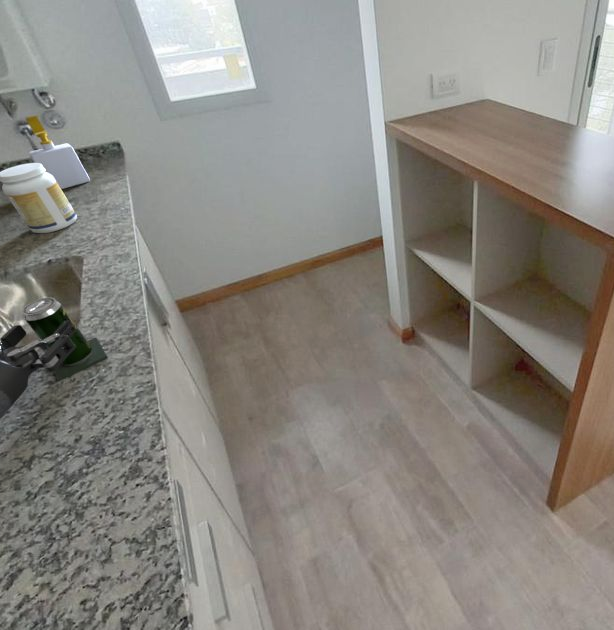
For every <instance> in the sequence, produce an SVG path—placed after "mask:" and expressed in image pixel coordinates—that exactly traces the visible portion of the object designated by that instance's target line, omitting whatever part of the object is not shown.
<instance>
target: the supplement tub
mask: <svg viewBox="0 0 614 630" xmlns="http://www.w3.org/2000/svg"><path fill="white" fill-rule="evenodd" d="M45 171H46V169H45V168H44V167H43V166H42V164H40V163H34V162H29V163H23V164H18V165H15V166H11V167H8V168H5V169H3V170H1V171H0V182H1V183H2V187H1V188H2V192H3V193H4V195H5V196H6V197H7V198H8V200H9V202H11V204H12V206H13V207H14V209H15V210H16V211H17V213H18V214H19V215H20V217H21V218H22V220H23V222H24V223H25V224H26V226H27V227H28V229H29V230H30V231H31V232H32V233H34V234H49V233H53V232H58V231H60V230H63V229H65V228H67V227H70V226H71V225H73V224H74V223H76V221H77V219H78V215H77V213H76V211H75V210H74V208H73V206H72V204H71V203H70V202H69V199H68V198H67V196H66V195H65V193H64V192H63V189H61V188H60V187H59V185H58V183H57V182H56V180H55V178H54V177H53V176H52V175H51V174H49V173H47V172H45Z"/></svg>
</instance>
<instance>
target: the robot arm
mask: <svg viewBox="0 0 614 630" xmlns="http://www.w3.org/2000/svg"><path fill="white" fill-rule="evenodd" d="M75 332H76V327H75V326H74V324H73V323H72V322H71V321H70V320H69V321H64V322H63V323H62V324H61V325H60V326H59V327H58V329H57V330H56V331H55V332H54V333H53V335H51V336H49V337H47V338H45V339H44V340H41V339H40V338H39V339H36V340H34V341H32V342H30V343H28V344H26V345H21V346H18V344H19V343H20V342H21V341H23V339H24V338H25V337H26V336H27V331H26V330H25V329H24V328H23V326H22V325H20V324H18V325H13V326H12V327H11V328H9V330H7V331H6V332H5V333H4V334H3V335H2V336H1V337H0V420H1V419H2V418H3V417H4V415H6V413H7V412H8V411H9V410H10V409H11V408H12V406H13V405H14V404H15V403H16V402H17V401H18V399H19V398H20V397H21V396H22V395H23V393H24V392H25V391H26V390H27V389H28V385H29V377H30V376H31V374H33V373H34V372H36V371H38V369H44V368H46V369H47V371H48V372H54V370H56V369H57V368H58V367H59V366H60V365H61V363H62V362H63V361H64V360H65V359H66V358H67V357H68V356H69V355H70V353H71V352H72V351H73V350H74V349H75V348H76V346H75V344H74V343H73V342H72V340H71V339H70V338H71V336H72V335H73V334H74V333H75ZM53 341H54V342H55V343H54V344H53V345H52V346H51V347H50V348H49V349H48V347H47V345H48V344H49V343H51V342H53ZM36 348H39V349H40V350H41V352H42V353H41V356H39V353H38V352H37V350H36ZM63 348H65V349H64V350H63Z"/></svg>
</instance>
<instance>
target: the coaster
mask: <svg viewBox="0 0 614 630" xmlns="http://www.w3.org/2000/svg"><path fill="white" fill-rule="evenodd" d="M87 341H88V343H89V344H90V345H91V347H92V355H91V356H90V357H89V358H88V359H87V360H86V361H84V362H83V363H81V364H78V365H75V366H65V365H62V364H61V365H60V366H59V367H58V368H57V369H56V370H54V371H53V372H54V375H55V376H56V380H57V381H58V382H61V381H62V380H64V379H67V378H69V377H71V376H73V375H75V374H77V373H79V372H81V371H84V370H86V369H87V368H90V367H92V366H94V365H96V364H97V363H101V362H102V361H104V360H107V359H108V358H109V357H108V355H107V353H106V352H105V349H104V348H103V346H102V345H101V343H100V341H99V340H98V338H97V336H94V337H93V338H91V339H87Z"/></svg>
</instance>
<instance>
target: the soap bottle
mask: <svg viewBox="0 0 614 630" xmlns="http://www.w3.org/2000/svg"><path fill="white" fill-rule="evenodd" d="M25 120H26V122H27V124H28V125H29V127H30V129H31V131H32V133H33V134H34V135H35V136H36V137H37V138H39V139H40V140H41V141H40V142H39V145H40V146H41V147H42V148H40V149H36V150H32V151H29V152H28V155H29V157H30V158H31V160H32V163H40V164H42V166H43V167H44V168H45V169H46V171H45V172H47V173H49V174H51V175H52V176H53V177H54V178H55V180H56V182H57V183H58V185H59V187H60V188H61V190H64V189H68V188H71V187H74V186H78V185H82V184H85V183H89V182H91V179H90V177H89V174H88V173H87V171H86V169H85V167H84V166H83V164H82V162H81V160H80V158H79V156H78V154H77V153H76V151H75V149H74V148H73V146H72V145H70V144H69V143H67V142H66V143H62V144H57V145H55V144H54V142H53V140H52V139H48V137H47V136H48V134H47V133H48V132H47V131H46V129H45V128H44V127H43V125H42V123H41V121H40V119H39V117H38V115H36V114H35V115H31V116H26V117H25Z"/></svg>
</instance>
